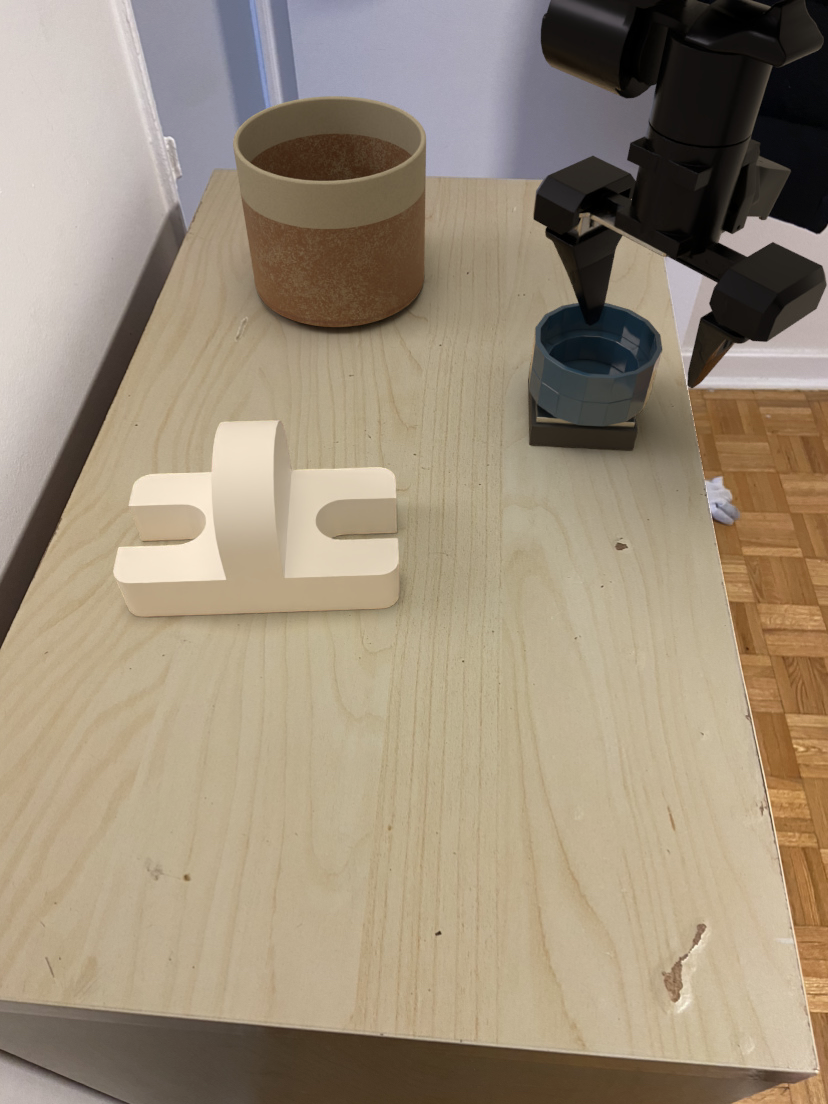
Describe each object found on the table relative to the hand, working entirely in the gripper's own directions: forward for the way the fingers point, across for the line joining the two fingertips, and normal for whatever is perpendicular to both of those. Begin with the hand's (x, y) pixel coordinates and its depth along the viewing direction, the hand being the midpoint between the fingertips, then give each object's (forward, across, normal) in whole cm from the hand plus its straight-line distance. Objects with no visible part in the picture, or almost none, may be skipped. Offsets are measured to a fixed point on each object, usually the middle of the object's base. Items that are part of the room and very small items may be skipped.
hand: (641, 352), depth 59 cm
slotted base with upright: (+9, +8, +28) cm, 30 cm away
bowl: (+6, +4, 0) cm, 7 cm away
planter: (+9, +32, +3) cm, 33 cm away
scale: (+8, +4, 0) cm, 9 cm away
